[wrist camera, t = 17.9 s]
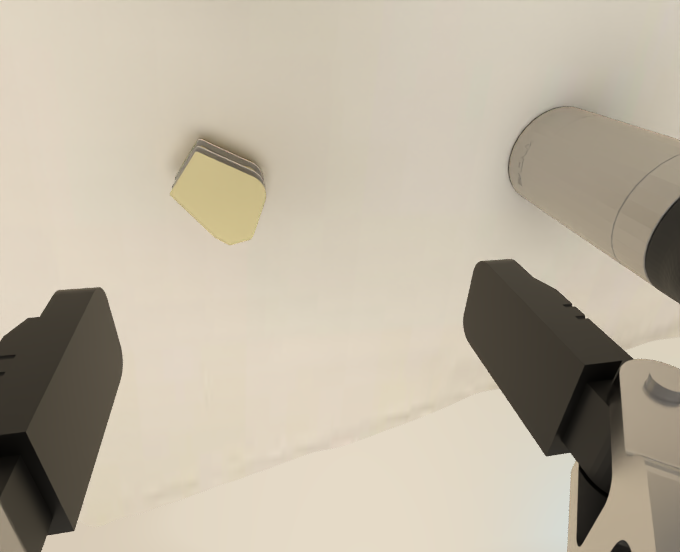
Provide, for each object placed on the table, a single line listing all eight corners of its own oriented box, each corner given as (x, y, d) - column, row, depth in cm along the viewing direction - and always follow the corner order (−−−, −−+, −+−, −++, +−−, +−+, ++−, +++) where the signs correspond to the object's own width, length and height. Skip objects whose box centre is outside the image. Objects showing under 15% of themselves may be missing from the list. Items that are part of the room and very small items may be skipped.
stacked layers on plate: (143, 187, 38) (130, 214, 33) (197, 96, 35) (191, 111, 30) (246, 244, 42) (248, 273, 38) (301, 167, 39) (309, 189, 35)
